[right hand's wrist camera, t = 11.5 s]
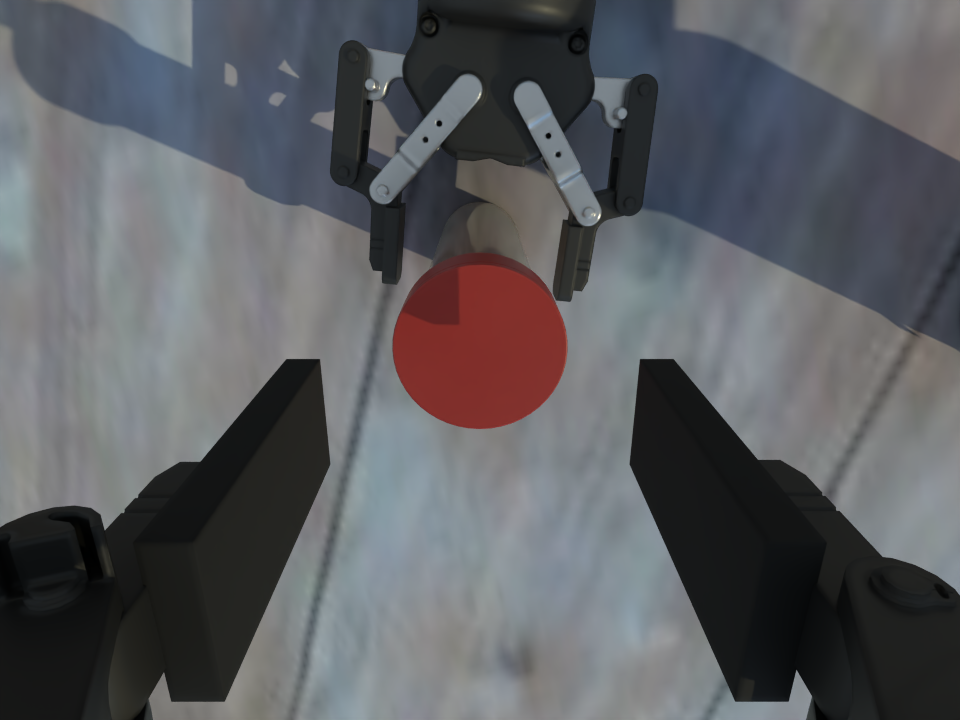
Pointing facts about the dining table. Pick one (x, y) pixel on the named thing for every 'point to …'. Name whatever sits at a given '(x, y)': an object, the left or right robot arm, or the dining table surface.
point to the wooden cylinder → (480, 234)
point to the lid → (479, 341)
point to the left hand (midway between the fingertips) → (476, 289)
